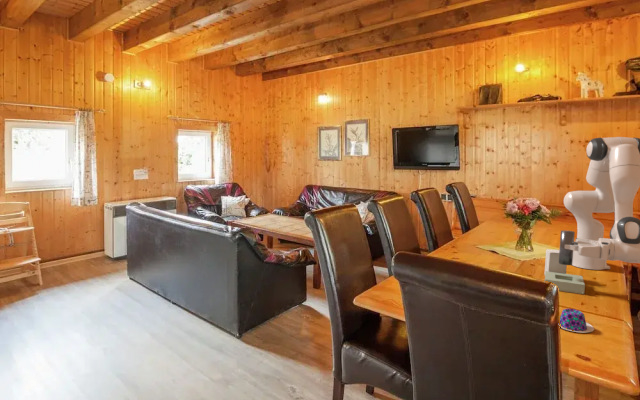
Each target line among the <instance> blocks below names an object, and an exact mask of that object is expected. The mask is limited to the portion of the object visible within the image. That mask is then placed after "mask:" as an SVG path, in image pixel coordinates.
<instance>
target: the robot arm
mask: <svg viewBox="0 0 640 400" xmlns="http://www.w3.org/2000/svg"><path fill="white" fill-rule="evenodd" d="M585 151H586V156H587V158H588V159H589V160H590V161H589V166H588V169H587V171H586V172H587V173H586V176H585V180H586V182H587V183H588V184H589V185H590V186H591V187H593V188H595V190H573V191H568V192H566V194H565V195H564V197H563V205H564V207H565V208H566V210H568V211H569V212H570V213H571V214H572V215H573V217H574V218H575V221H576V223H577V224H576V225H577V226H576V227H577V228H576V229H577V231H576V232H577V233H576V237H575V239H574V245H569V244H565V246H564V248H565V249H570V250H573V262H572V265H571V266H574V267H577V268H581V269H585V270H594V271H595V270H597V271H598V270H599V271H600V270H601V271H602V270H611V266H610V265H608V264H607V261H619V262H624V263H631V264H640V219H639V218H637V217H635V216H634V207H633V206H634V200H635V197H636V194H637V193H638V191H639V188H640V137H627V136H626V137H624V136H616V137H615V136H613V137H611V136H610V137H595V138H591V139H590V140H589V141H588V143H587V146H586V150H585ZM593 213H600V214H601V213H602V214H604V213H605V214H609V213H614V220H613V221H614V222H613V225H612V227H611V229H610V231H609V238H607V237H606V238H605V237H604V235H605V234H604V233H605V226H604V224H603V223H602V222H601V221H600V220H598V219H596V218H594V217H593Z"/></svg>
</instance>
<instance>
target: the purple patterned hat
mask: <svg viewBox="0 0 640 400" xmlns="http://www.w3.org/2000/svg"><path fill="white" fill-rule="evenodd" d="M559 317H560V324H561V329H563V330H566V331H570V332H576V333H583V334H584V333H592V332H593V331H594V330H595V327H594V325H591V324H590V323H589V322H586V321H587V320H586V318H585V317H586V316H585V314H584V313H583V312H582V311H580V310H577V309H574V308H565V309H562V311H561V315H559ZM566 328H567V329H566ZM572 330H574V331H572Z"/></svg>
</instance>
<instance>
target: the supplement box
mask: <svg viewBox="0 0 640 400" xmlns="http://www.w3.org/2000/svg"><path fill="white" fill-rule="evenodd" d="M559 250H560V249H548V248H546V250H545V259H544V260H545V262H544V273H543V274H544V276H545V271H548V272H556V273H563V274H567V266H568V265H563V264H559Z"/></svg>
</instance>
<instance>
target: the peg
mask: <svg viewBox="0 0 640 400" xmlns="http://www.w3.org/2000/svg"><path fill="white" fill-rule="evenodd" d="M559 239H560V240H559V249H558V250H559V264H563V265H567V266H573V265H572V262H573V250H570V249H565V248H564V246H565V244H569V245H574V242H575V231H574V230H564V229H562V230H560V238H559Z"/></svg>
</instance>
